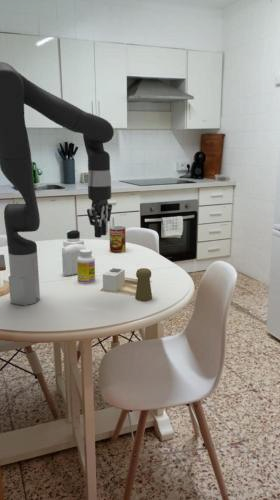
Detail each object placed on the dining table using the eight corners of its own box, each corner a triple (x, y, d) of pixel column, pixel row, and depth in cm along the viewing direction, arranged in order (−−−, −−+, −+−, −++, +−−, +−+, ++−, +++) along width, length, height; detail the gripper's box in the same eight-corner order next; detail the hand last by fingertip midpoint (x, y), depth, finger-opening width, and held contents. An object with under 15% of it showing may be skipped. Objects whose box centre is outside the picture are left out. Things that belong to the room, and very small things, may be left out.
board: (134, 297, 143) (134, 295, 143) (99, 292, 148) (99, 290, 148) (152, 282, 158) (152, 281, 158) (119, 278, 163) (119, 276, 163)
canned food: (107, 252, 201) (106, 228, 198) (113, 248, 208) (112, 225, 205) (122, 253, 199) (122, 229, 196) (127, 249, 206) (127, 226, 203)
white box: (115, 291, 147) (115, 274, 145) (103, 290, 148) (102, 273, 147) (124, 284, 154) (124, 268, 152) (112, 283, 156) (112, 267, 154)
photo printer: (84, 270, 174) (83, 241, 170) (88, 272, 170) (87, 243, 167) (61, 274, 168) (59, 245, 165) (65, 277, 165) (64, 247, 161)
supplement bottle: (90, 286, 154) (89, 253, 151) (74, 284, 156) (73, 251, 153) (98, 280, 160) (97, 249, 157) (83, 278, 162) (81, 247, 159)
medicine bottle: (84, 254, 197) (83, 230, 194) (74, 258, 191) (73, 233, 188) (73, 252, 201) (72, 228, 198) (63, 255, 195) (62, 231, 192)
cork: (146, 304, 137) (146, 273, 134) (131, 300, 140) (131, 270, 137) (155, 298, 142) (155, 268, 139) (140, 295, 145) (140, 265, 142)
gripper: (99, 186, 125) (100, 241, 129) (119, 182, 138) (119, 233, 142) (78, 185, 128) (80, 239, 132) (99, 182, 140) (100, 231, 145)
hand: (100, 235), depth 137 cm, fingers open, 3 cm apart
